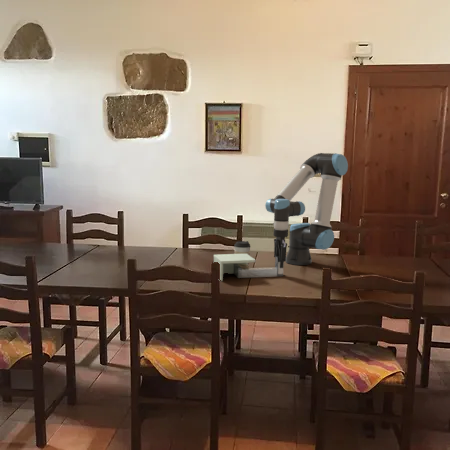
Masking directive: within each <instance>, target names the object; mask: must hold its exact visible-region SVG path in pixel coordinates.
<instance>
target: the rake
mask: <svg viewBox="0 0 450 450" xmlns="http://www.w3.org/2000/svg"><path fill="white" fill-rule="evenodd" d="M274 259H275V262H274V263H275V264H274V267H249V268H241V267H240V266H239V265H238V264H234V273H233V274H234V275H235V276H236V278H238V279H240V278H241V279H242V278H266V277H267V278H271V277H272V278H273V277H274V278H275V277H284V273H283V274H278V261H279V256H276V258H275V257H274ZM284 270H285V269H284V268H283V272H284Z"/></svg>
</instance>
